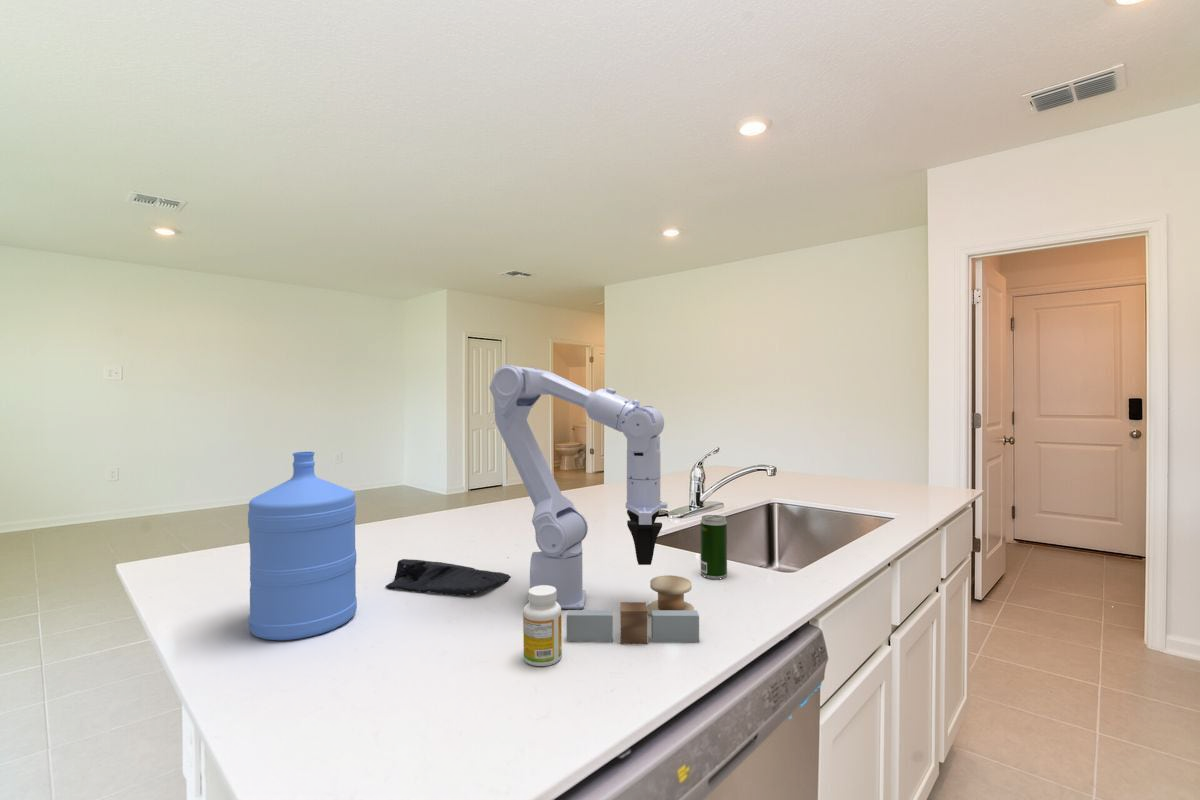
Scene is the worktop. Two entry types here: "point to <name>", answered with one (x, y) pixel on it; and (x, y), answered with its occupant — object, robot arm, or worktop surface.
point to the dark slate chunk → (443, 578)
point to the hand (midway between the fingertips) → (643, 557)
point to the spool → (670, 593)
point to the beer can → (714, 546)
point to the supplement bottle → (542, 627)
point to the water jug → (302, 556)
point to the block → (633, 622)
